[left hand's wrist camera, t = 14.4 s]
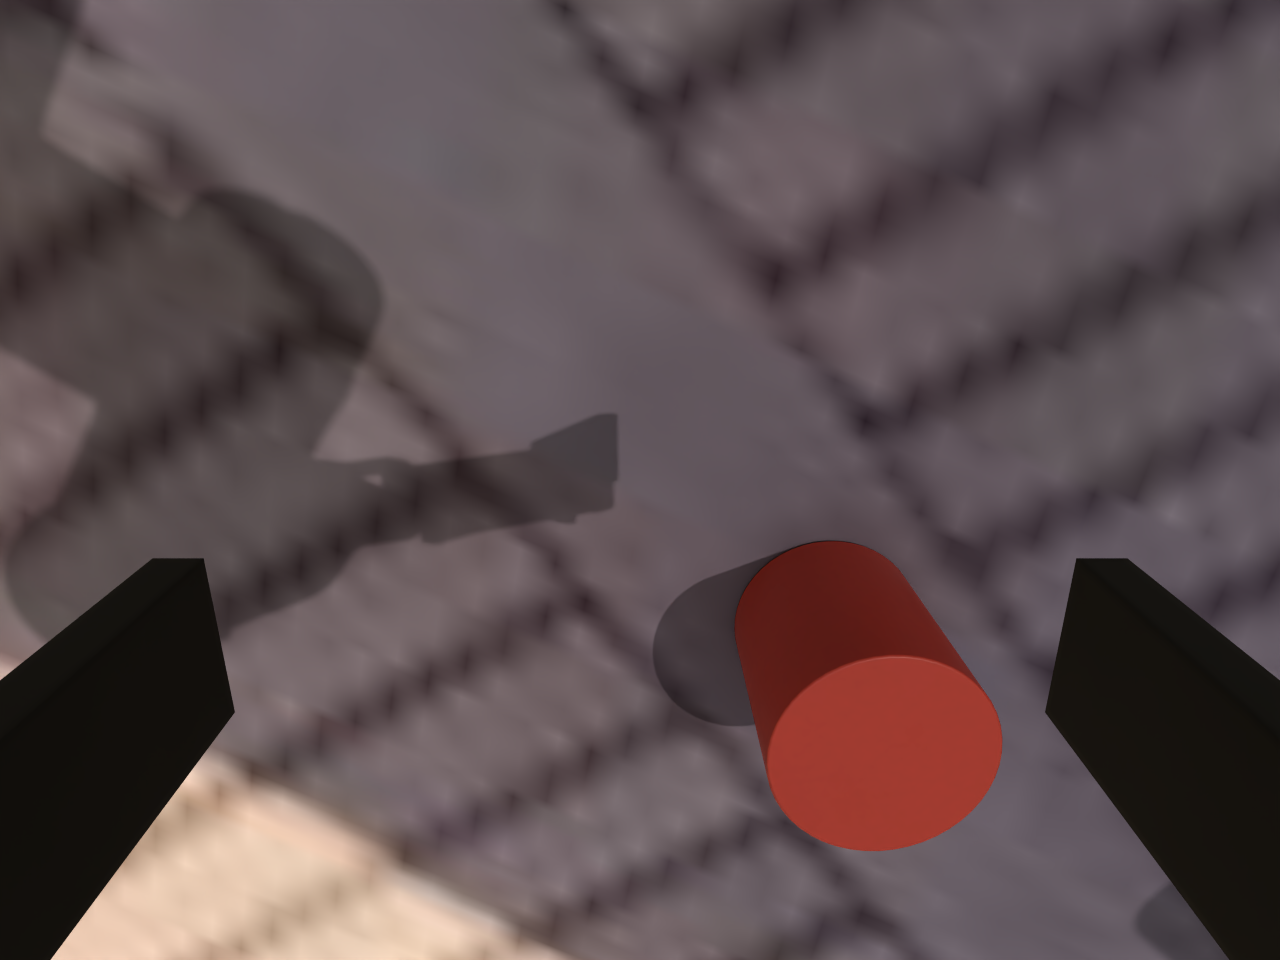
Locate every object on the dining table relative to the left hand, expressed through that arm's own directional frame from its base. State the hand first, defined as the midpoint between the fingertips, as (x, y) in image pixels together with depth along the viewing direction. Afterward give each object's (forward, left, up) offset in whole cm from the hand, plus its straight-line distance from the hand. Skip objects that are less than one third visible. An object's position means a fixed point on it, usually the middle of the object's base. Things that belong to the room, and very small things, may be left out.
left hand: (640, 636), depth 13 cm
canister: (+3, +13, -20) cm, 24 cm away
